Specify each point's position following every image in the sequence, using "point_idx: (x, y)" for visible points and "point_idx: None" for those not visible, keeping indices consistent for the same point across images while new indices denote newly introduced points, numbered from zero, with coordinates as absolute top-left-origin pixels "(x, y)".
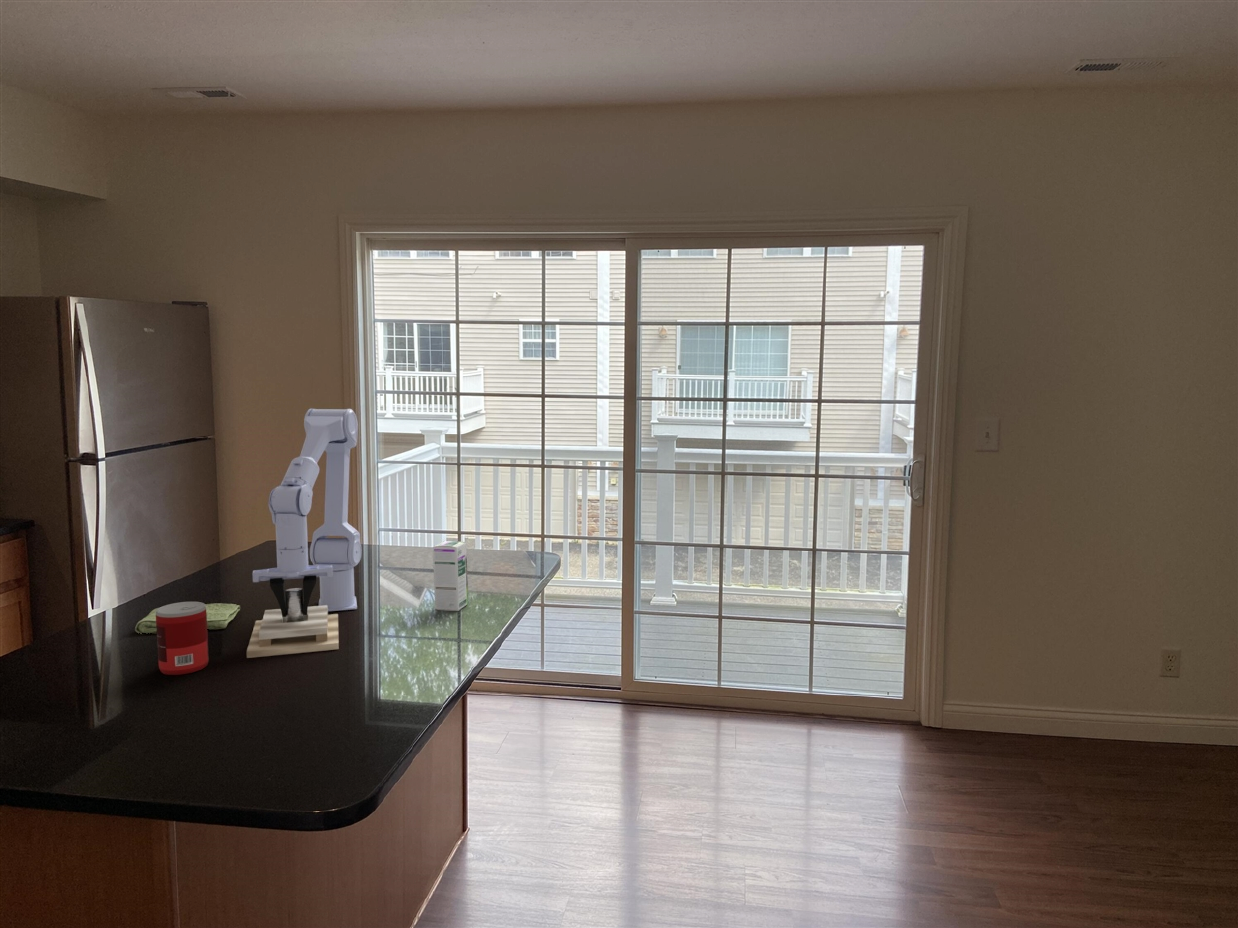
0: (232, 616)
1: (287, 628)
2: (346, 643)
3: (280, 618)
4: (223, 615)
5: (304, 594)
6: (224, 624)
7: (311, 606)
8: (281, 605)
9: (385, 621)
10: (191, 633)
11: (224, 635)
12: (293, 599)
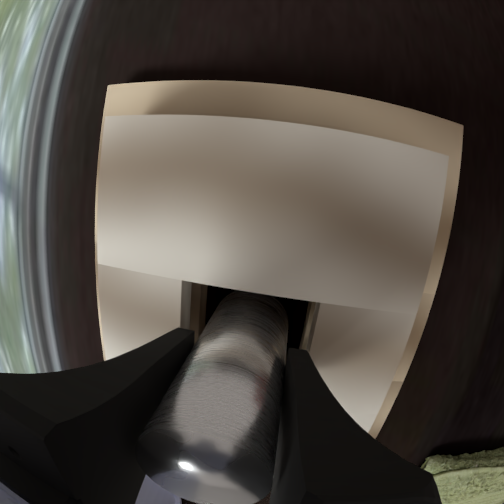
0: None
1: (299, 176)
2: (91, 149)
3: None
4: None
5: (120, 382)
6: (433, 461)
7: None
8: (316, 382)
9: (17, 323)
10: None
11: (452, 409)
12: (221, 390)
